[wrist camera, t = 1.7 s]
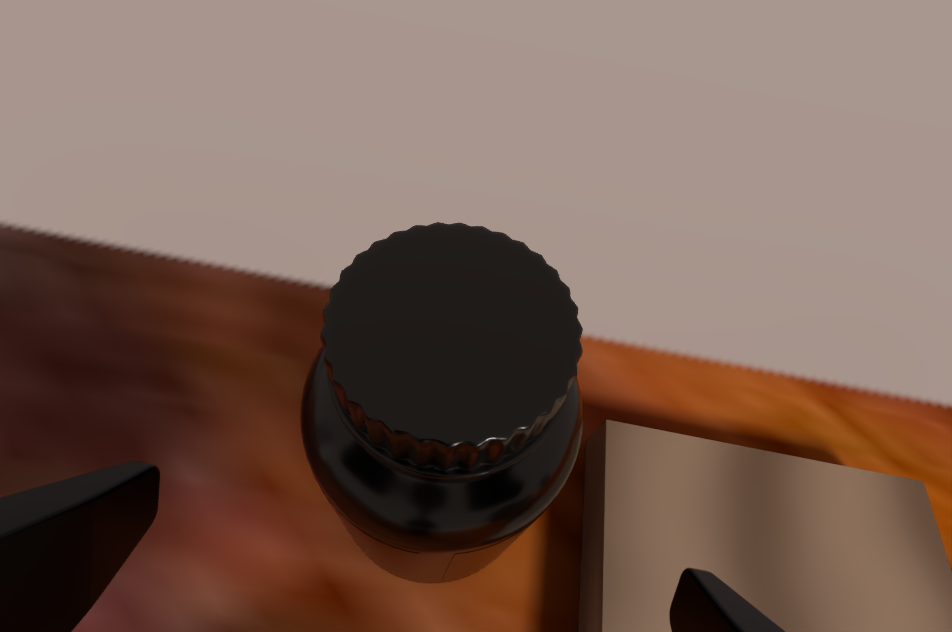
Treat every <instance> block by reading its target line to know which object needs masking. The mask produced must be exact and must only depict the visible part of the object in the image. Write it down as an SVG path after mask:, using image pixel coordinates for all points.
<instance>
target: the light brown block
mask: <svg viewBox="0 0 952 632" xmlns="http://www.w3.org/2000/svg"><path fill="white" fill-rule="evenodd" d="M686 568H694V569H700V570H705V571H709V572H711V573H713V574H714V575H715V576H717V577H718V578H719V579H720V580H722V581H723V582H724V583H725V584H727V585H728V586H729V587H730V588H732V589H733V590H734V591H735V592H737V593H738V594H739V595H740V596H742V597H743V598H744V599H745V600H747V601H748V602H749V603H750V604H752V605H753V606H754V607H755V608H757V609H758V610H759V611H760V612H762V613H763V614H764V615H765V616H767V617H768V618H769V619H770V620H772V621H773V622H774V623H775V624H777V625H778V626H779V627H780V628H782V629H783V630H784V631H785V632H952V571H951V568H950V565H949V562H948V559H947V556H946V552H945V549H944V546H943V543H942V540H941V537H940V533H939V530H938V527H937V524H936V521H935V518H934V514H933V511H932V508H931V505H930V502H929V499H928V495H927V492H926V489H925V486H924V483H923V481H918V480H913V479H908V478H903V477H898V476H893V475H888V474H883V473H877V472H872V471H867V470H862V469H857V468H852V467H847V466H842V465H837V464H831V463H826V462H821V461H816V460H811V459H806V458H801V457H796V456H790V455H785V454H780V453H775V452H770V451H765V450H760V449H755V448H750V447H744V446H739V445H734V444H729V443H724V442H719V441H714V440H709V439H703V438H698V437H693V436H688V435H683V434H678V433H673V432H668V431H663V430H657V429H652V428H647V427H642V426H637V425H632V424H627V423H622V422H617V421H611V420H605V422H604V423H603V424H602V425H601V426H600V427H599V428H598V429H597V430H596V431H595V432H594V433H593V435H592V436H591V437H590V438H589V439H588V440H587V441H586V457H585V482H584V506H583V530H582V554H581V578H580V602H579V626H578V632H672V631H671V626H670V619H669V612H670V606H671V603H672V600H673V597H674V594H675V591H676V588H677V585H678V582H679V579H680V576H681V574H682V572H683V570H684V569H686Z"/></svg>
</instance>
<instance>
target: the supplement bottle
mask: <svg viewBox="0 0 952 632" xmlns="http://www.w3.org/2000/svg"><path fill="white" fill-rule="evenodd" d="M577 315H578V307H577V306H576V304H575V303H574V302H573V300H572V299H571V297H570V289H569V287H567V286H566V285H565V284H564V283H563V282H562V281H561V280H560V278H559V274H558V272H557V270H555V269H554V268H553V267H551V266H549V265H548V264H547V263H546V261H545V260H544V258H543V257H542V255H540V254H538V253H536V252H533V251H531V250H530V249H529V248H528V247H527V246H526V245H525V244H524V243H523V242H520V241H516V240H512V239H511V238H510V237H508V236H507V235H506V234H504V233H501V232H492V231H490V230H488V229H487V228H485V227H483V226H472V227H471V226H468V225H466V224H463V223H454V224H444V223H439V222H437V223H433V224H431V225H428V226H423V225H416V226H413V227H411V228H410V229H408V230H406V231H398V232H394V233H392V234H391V235H390V236H389V237H388V238H387V239H383V240H379V241H376V242H374V243H373V244H372V245H371V247H370V248H369V249H368V250H366V251H364V252H362V253H360V254H358V255H356V257H355V259H354V260H353V263H352V264H351V265H350V266H348V267H346V268H345V269H344V270H342V272H341V274H340V280H339V282H337V283H336V284H335V285H334V286H333V287H332V288H331V289H330V301H329V303H328V304H327V305H326V307H325V308H324V310H323V319H324V323H325V324H324V326H323V329H322V332H321V342H322V346H321V347H320V349H319V351H318V352H317V354H316V356H315V358H314V360H313V362H312V364H311V367H310V369H309V372H308V375H307V378H306V381H305V385H304V389H303V395H302V401H301V415H300V419H301V433H302V439H303V445H304V448H305V452H306V456H307V459H308V462H309V464H310V467H311V469H312V472H313V474H314V476H315V479H316V480H317V482H318V484H319V486H320V488H321V490H322V491H323V493H324V495H325V496H326V498H327V499H328V501H329V502H330V504H331V505H332V507H333V508H334V510H335V512H336V513H337V515H338V516H339V518H340V519H341V521H342V522H343V524H344V525H345V527H346V528H347V530H348V532H349V533H350V535H351V536H352V538H353V539H354V540H355V542H356V543H357V545H358V546H359V547H360V548H361V549H362V551H363V552H364V553H365V554H366V555H367V556H368V557H369V558H370V559H371V560H372V561H373V562H374V563H376V564H377V565H378V566H380V567H381V568H382V569H384V570H386V571H387V572H389V573H391V574H393V575H395V576H398V577H400V578H403V579H406V580H409V581H414V582H419V583H445V582H451V581H455V580H459V579H462V578H464V577H467V576H470V575H472V574H474V573H476V572H478V571H479V570H481V569H482V568H484V567H486V566H487V565H488V564H490V563H491V562H492V561H493V560H495V559H496V558H497V557H498V556H499V555H500V554H501V553H502V552H504V551H505V550H506V549H507V548H508V547H509V546H510V545H511V544H512V543H513V542H514V541H515V540H516V539H517V538H518V537H519V536H520V535H521V534H522V533H523V532H524V531H525V530H526V529H527V528H528V527H529V526H530V525H531V524H532V523H533V522H534V521H535V520H536V519H537V518H538V517H540V516H541V515H542V514H543V513H544V511H545V510H546V509H547V508H548V507H549V506H550V504H551V503H552V502H553V501H554V499H555V498H556V496H557V495H558V493H559V492H560V490H561V489H562V487H563V486H564V484H565V483H566V481H567V479H568V477H569V475H570V473H571V471H572V469H573V466H574V464H575V461H576V458H577V455H578V451H579V448H580V443H581V437H582V428H583V404H582V398H581V391H580V387H579V383H578V380H577V363H578V361H579V360H580V358H581V356H582V346H581V343H580V338H581V335H582V331H583V329H582V327H581V324H580V322H579V321H578V319H577Z"/></svg>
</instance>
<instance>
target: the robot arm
mask: <svg viewBox="0 0 952 632" xmlns="http://www.w3.org/2000/svg"><path fill="white" fill-rule="evenodd" d="M159 483H160V471H159V468H158V467H157V466H156V465H153V464H148V463H143V462H138V461H130V462H126V463H122V464H119V465H115V466H112V467H108V468H105V469H101V470H98V471H94V472H91V473H87V474H83V475H80V476H76V477H73V478H69V479H66V480H62V481H59V482H55V483H52V484H48V485H44V486H41V487H37V488H34V489H30V490H27V491H23V492H20V493H16V494H13V495H9V496H5V497H2V498H0V632H71V631H72V630H73V629H74V628H75V627H76V626H77V624H78V623H79V622H80V621H81V620H82V618H83V617H84V616H85V615H86V614H87V612H88V611H89V610H90V609H91V608H92V606H93V605H94V604H95V602H96V601H97V600H98V598H99V597H100V596H101V594H102V593H103V592H104V590H105V589H106V587H107V586H108V585H109V583H110V582H111V580H112V579H113V578H114V576H115V575H116V573H117V572H118V571H119V569H120V568H121V566H122V565H123V564H124V562H125V561H126V559H127V558H128V557H129V555H130V554H131V552H132V551H133V550H134V548H135V547H136V546H137V544H138V543H139V541H140V540H141V539H142V537H143V536H144V534H145V533H146V532H147V530H148V529H149V527H150V526H151V524H152V523H153V521H154V519H155V517H156V514H157V510H158V499H159ZM669 619H670V626H671V631H672V632H785V631H784V630H783V629H782V628H780V627H779V626H778V625H777V624H775V623H774V622H773V621H772V620H770V619H769V618H768V617H767V616H765V615H764V614H763V613H762V612H760V611H759V610H758V609H757V608H755V607H754V606H753V605H752V604H750V603H749V602H748V601H747V600H745V599H744V598H743V597H742V596H740V595H739V594H738V593H737V592H735V591H734V590H733V589H732V588H730V587H729V586H728V585H727V584H725V583H724V582H723V581H722V580H720V579H719V578H718V577H717V576H715V575H714V574H713V573H711V572H709V571H705V570H700V569H694V568H686V569H684V570H683V572H682V574H681V576H680V579H679V582H678V585H677V588H676V591H675V594H674V597H673V600H672V603H671V606H670V612H669Z"/></svg>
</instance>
